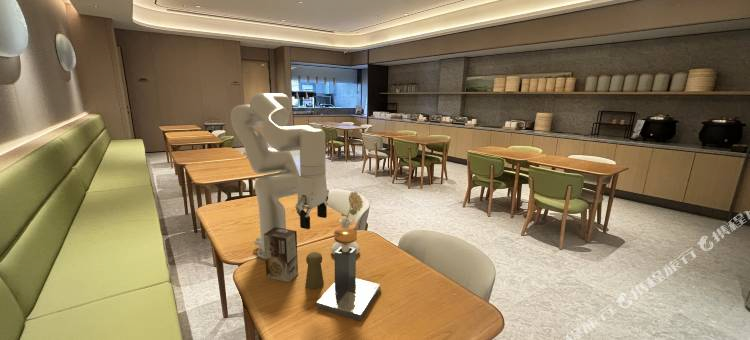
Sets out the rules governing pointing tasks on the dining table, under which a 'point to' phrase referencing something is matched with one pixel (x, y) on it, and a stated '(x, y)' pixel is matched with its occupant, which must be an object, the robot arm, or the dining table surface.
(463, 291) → the dining table surface
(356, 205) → the flower in vase
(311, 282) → the cork
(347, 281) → the press stand
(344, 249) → the handle
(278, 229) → the coffee box
